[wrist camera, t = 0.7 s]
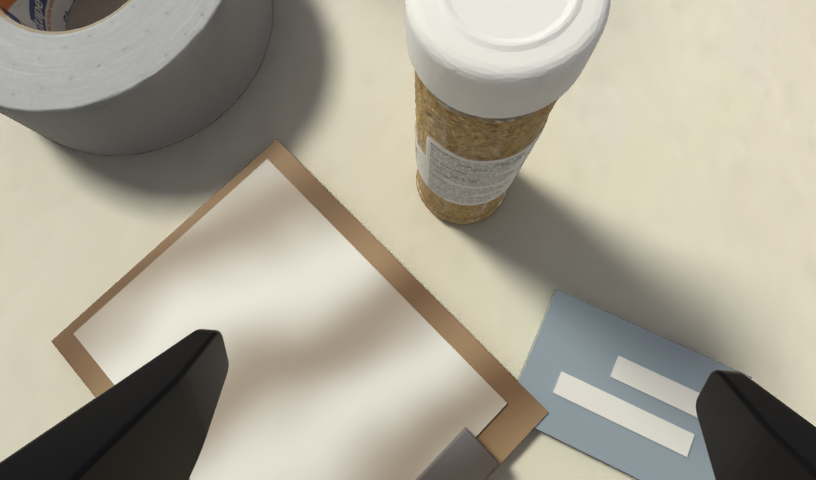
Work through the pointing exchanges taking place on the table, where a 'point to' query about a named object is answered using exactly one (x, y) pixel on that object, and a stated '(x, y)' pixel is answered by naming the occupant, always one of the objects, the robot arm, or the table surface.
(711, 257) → the table surface
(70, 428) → the robot arm
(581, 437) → the word card
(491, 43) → the sprinkles bottle
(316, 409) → the clipboard
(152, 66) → the tape roll
